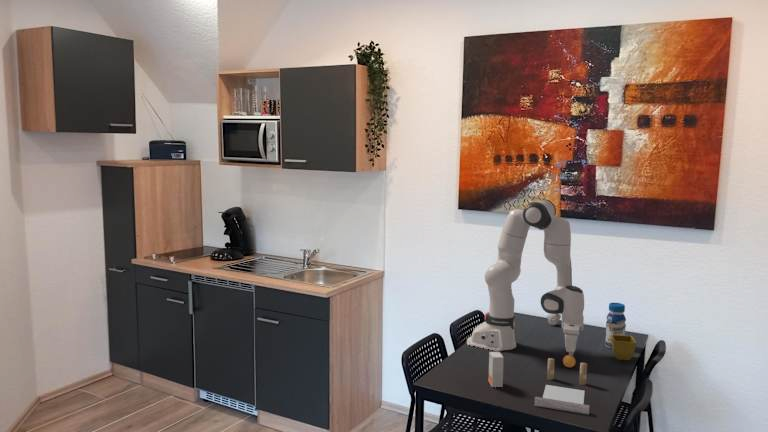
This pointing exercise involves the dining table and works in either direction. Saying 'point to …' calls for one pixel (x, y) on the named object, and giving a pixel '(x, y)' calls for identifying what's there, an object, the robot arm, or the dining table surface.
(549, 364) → the left post
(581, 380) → the right post
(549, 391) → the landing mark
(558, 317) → the frog figurine
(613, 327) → the beverage bottle
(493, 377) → the skincare box
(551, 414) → the dining table surface
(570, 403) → the wall
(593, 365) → the dining table surface
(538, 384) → the dining table surface
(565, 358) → the ball
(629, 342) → the flower pot
